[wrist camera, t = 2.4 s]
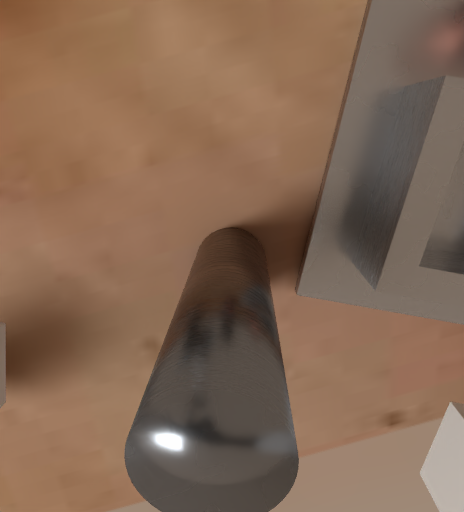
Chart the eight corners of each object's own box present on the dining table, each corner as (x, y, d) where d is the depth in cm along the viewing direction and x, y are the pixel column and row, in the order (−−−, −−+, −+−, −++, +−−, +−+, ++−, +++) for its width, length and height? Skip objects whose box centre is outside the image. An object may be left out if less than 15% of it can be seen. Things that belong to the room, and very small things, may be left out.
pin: (202, 221, 21) (132, 375, 8) (272, 234, 21) (317, 406, 8) (191, 286, 23) (117, 511, 9) (258, 298, 23) (277, 537, 9)
